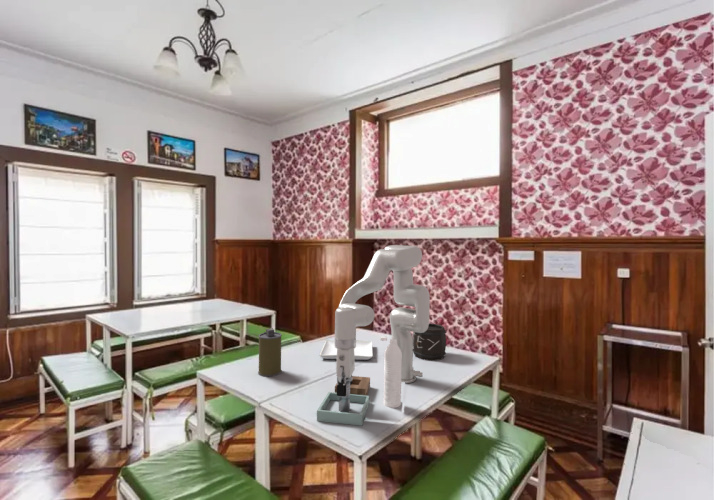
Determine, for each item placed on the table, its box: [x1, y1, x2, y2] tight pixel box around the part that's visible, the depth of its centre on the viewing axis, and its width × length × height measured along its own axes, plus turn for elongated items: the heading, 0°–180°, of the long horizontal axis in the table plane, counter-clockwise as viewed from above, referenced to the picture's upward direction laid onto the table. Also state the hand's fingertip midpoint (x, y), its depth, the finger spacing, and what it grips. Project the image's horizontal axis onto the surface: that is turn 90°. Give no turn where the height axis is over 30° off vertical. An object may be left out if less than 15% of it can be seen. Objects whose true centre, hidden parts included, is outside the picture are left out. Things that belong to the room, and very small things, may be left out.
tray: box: [316, 391, 370, 427], centre depth 132 cm, size 16×16×4 cm
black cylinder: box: [412, 322, 447, 361], centre depth 198 cm, size 18×18×16 cm
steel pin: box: [336, 374, 354, 413], centre depth 132 cm, size 6×6×12 cm
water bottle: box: [379, 336, 402, 409], centre depth 138 cm, size 9×6×25 cm
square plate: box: [318, 339, 374, 361], centre depth 200 cm, size 27×27×4 cm
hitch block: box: [334, 375, 371, 396], centre depth 147 cm, size 12×12×5 cm
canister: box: [257, 327, 283, 377], centre depth 170 cm, size 11×10×20 cm
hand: (344, 390), depth 132 cm, fingers open, 9 cm apart
